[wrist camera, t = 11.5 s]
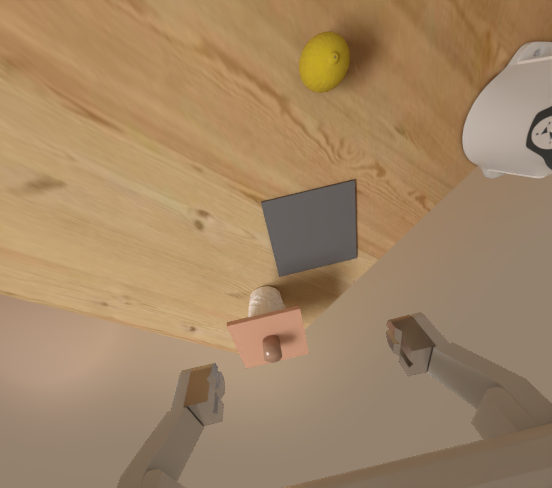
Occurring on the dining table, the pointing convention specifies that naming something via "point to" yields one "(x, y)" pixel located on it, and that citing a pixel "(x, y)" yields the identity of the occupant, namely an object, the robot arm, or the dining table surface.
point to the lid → (269, 336)
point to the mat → (312, 227)
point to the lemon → (324, 62)
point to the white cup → (265, 301)
